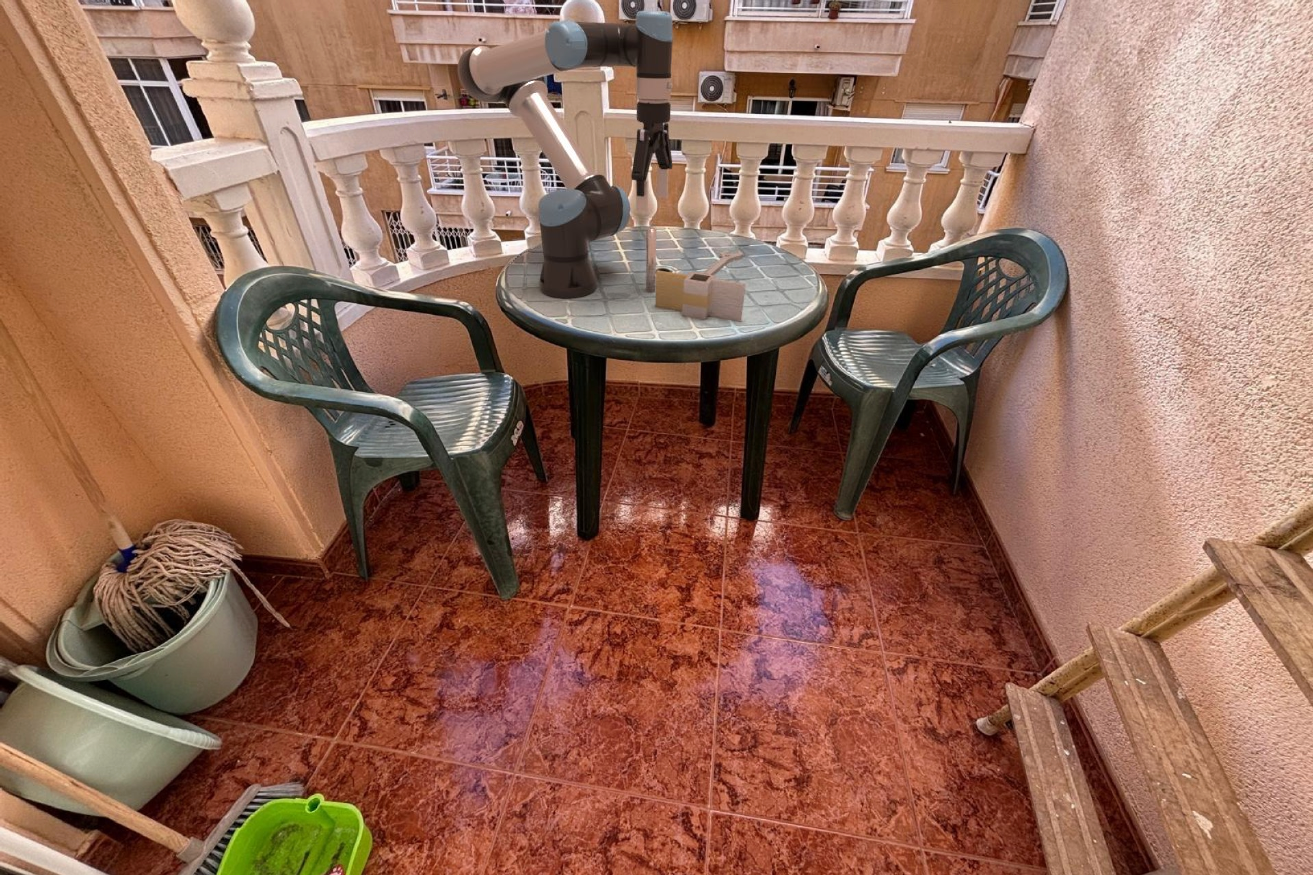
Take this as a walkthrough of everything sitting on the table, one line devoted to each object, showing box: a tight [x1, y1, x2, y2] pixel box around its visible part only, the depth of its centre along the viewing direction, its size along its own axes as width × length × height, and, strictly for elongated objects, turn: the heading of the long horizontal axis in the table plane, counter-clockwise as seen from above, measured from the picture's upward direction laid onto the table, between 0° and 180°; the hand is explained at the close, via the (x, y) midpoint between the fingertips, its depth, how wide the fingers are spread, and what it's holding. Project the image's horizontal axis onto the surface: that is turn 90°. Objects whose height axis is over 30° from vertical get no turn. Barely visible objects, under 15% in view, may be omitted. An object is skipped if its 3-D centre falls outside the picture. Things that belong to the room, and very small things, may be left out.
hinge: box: [655, 269, 747, 322], centre depth 129 cm, size 22×6×9 cm, turn 69°
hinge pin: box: [645, 227, 657, 293], centre depth 138 cm, size 2×2×16 cm
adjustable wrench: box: [701, 249, 744, 275], centre depth 159 cm, size 25×6×2 cm, turn 148°
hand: (652, 204), depth 129 cm, fingers open, 13 cm apart
